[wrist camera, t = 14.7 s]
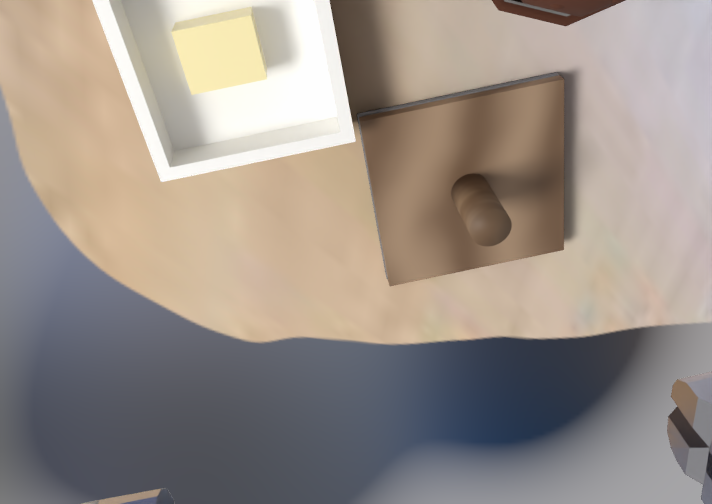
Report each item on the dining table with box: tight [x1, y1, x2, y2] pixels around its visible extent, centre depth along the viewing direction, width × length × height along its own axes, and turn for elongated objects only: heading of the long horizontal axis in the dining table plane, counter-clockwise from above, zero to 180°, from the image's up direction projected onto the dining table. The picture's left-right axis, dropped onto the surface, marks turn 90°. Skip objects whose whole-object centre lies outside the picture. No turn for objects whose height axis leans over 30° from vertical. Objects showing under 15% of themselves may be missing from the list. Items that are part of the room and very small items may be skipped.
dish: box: [92, 0, 356, 182], centre depth 38 cm, size 12×12×3 cm
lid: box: [359, 75, 564, 286], centre depth 43 cm, size 13×13×6 cm
